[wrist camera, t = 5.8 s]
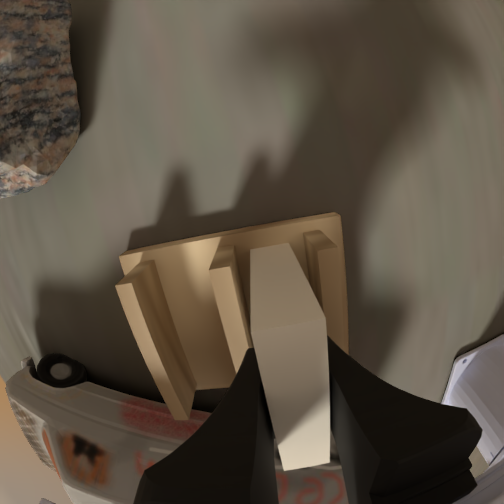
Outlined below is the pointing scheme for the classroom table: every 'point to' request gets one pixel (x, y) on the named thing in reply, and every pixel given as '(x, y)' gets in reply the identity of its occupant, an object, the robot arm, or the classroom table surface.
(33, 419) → the toy car
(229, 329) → the rack
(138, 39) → the classroom table surface
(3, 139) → the stone
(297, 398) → the tall cream block
